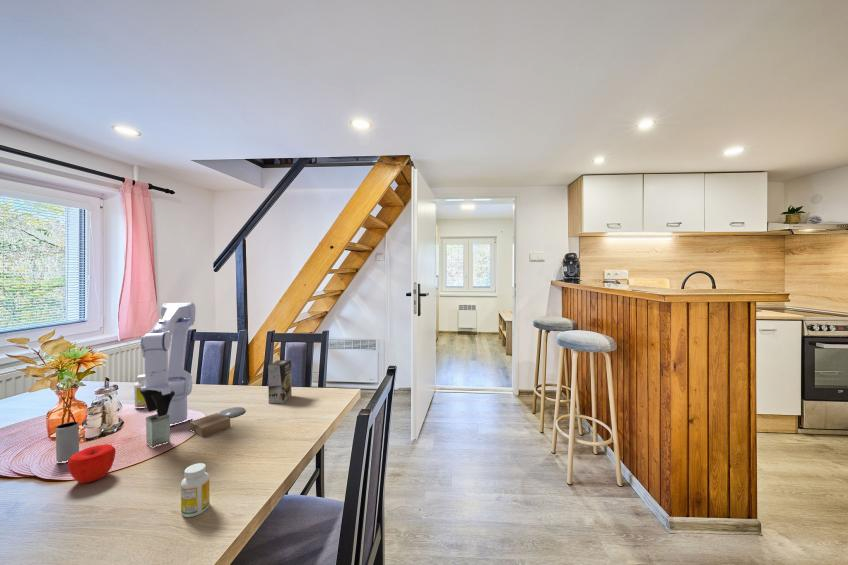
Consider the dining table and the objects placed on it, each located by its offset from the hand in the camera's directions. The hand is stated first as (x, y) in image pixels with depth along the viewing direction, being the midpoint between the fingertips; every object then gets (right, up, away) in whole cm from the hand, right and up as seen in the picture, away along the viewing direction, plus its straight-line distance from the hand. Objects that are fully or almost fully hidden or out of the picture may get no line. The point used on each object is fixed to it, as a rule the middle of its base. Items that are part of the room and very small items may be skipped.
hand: (157, 412), depth 106 cm
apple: (-2, -11, -18) cm, 21 cm away
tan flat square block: (+10, -10, +10) cm, 17 cm away
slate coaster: (+10, -9, +23) cm, 27 cm away
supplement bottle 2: (+33, -10, -30) cm, 46 cm away
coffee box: (+23, -9, +38) cm, 45 cm away
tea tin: (0, -10, 0) cm, 10 cm away
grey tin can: (-19, -10, -9) cm, 23 cm away
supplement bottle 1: (-30, -10, +31) cm, 44 cm away
